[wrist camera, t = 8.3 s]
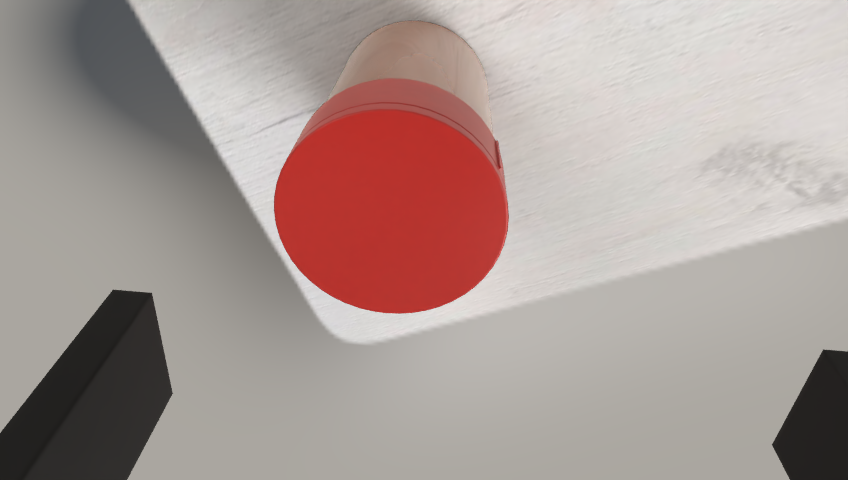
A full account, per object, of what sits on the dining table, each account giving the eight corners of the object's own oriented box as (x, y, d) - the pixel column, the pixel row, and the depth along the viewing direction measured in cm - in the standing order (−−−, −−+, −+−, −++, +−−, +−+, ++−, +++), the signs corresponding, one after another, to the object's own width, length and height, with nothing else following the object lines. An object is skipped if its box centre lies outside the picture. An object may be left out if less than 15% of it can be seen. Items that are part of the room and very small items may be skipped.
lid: (452, 38, 20) (450, 66, 18) (536, 225, 24) (545, 270, 21) (253, 132, 22) (226, 168, 20) (357, 291, 26) (346, 339, 23)
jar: (478, 168, 33) (486, 303, 23) (341, 156, 33) (291, 287, 23) (496, 27, 29) (514, 117, 19) (341, 13, 29) (280, 98, 19)
